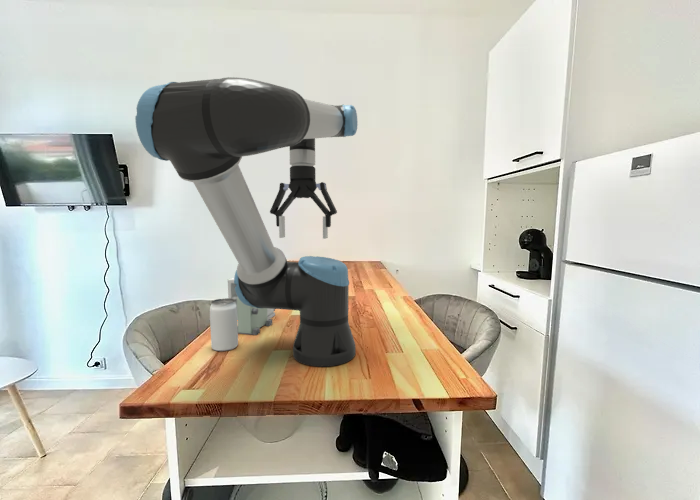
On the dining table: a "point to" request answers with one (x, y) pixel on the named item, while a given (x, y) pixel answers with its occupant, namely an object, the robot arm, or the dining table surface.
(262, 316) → the door
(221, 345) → the can
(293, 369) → the dining table surface
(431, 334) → the dining table surface
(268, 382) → the dining table surface
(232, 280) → the cabinet
